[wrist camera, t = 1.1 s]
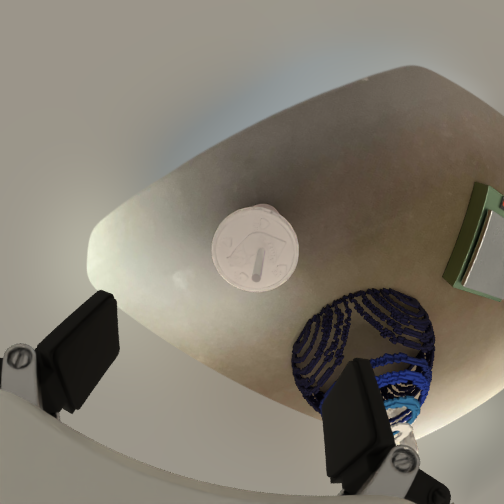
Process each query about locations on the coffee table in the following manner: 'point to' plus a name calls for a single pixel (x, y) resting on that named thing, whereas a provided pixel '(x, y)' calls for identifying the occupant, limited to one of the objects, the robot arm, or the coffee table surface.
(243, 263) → the smoothie
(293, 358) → the decorative bowl
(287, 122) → the coffee table surface
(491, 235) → the scale platform
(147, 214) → the coffee table surface
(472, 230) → the scale
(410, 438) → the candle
